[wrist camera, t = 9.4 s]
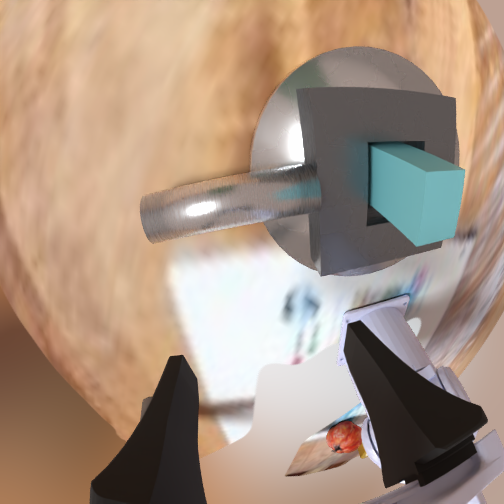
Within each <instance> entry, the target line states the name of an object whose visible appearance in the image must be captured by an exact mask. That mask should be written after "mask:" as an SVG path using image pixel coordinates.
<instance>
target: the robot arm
mask: <svg viewBox="0 0 504 504" xmlns="http://www.w3.org/2000/svg"><path fill="white" fill-rule="evenodd" d="M409 299H410V297H409V296H408V295H404V296H401V297H397V298H394V299H391V300H388V301H384V302H381V303H377V304H374V305H370V306H367V307H363V308H360V309H356V310H352V311H349V312H346V313H345V314H344V315H343V321H342V329H341V337H340V344H339V351H338V358H337V365H338V366H341V365H344V364H345V365H346V367H347V370H348V372H349V375H350V377H351V380H352V382H353V385H354V387H355V390H356V393H357V395H358V398H359V400H360V402H361V403H362V405H363V406H364V407H365V408H366V409H365V410H366V413H367V416H368V417H367V418H366V419H365V420H364V422H363V425H362V430H361V438H362V443H363V446H364V449H365V451H366V453H367V455H368V456H369V458H370V459H371V460H372V461H373V462H374V463H375V464H376V465H378V466H379V467H380V468H381V469H382V475H383V482H384V485H385V488H388V487H390V486H393V485H395V484H397V483H405V484H406V485H405V486H403V487H400V488H398V489H396V490H393V491H391V492H389V493H386V494H384V495H382V496H379V497H377V498H374V499H371V500H369V501H366V502H363V503H360V504H487V503H486V501H485V498H484V496H483V494H482V490H483V489H484V488H485V487H487V486H488V485H489V484H490V483H491V482H492V481H493V480H494V479H495V478H497V477H498V476H499V475H500V474H501V473H502V472H503V471H504V448H503V446H502V443H501V441H500V438H499V436H498V434H497V432H496V430H495V429H494V430H492V431H491V432H490V433H489V434H487V435H486V436H485V437H483V438H482V439H481V440H479V441H478V442H476V443H473V441H474V439H475V437H476V435H477V433H478V430H479V429H480V428H481V427H482V426H484V425H485V424H486V423H487V422H488V419H487V417H486V415H485V413H484V411H483V409H482V408H481V406H479V405H476V404H473V403H471V401H470V399H469V397H468V395H467V393H466V392H465V390H464V388H463V386H462V384H461V383H460V381H459V380H458V378H457V376H456V375H455V373H454V372H453V371H452V369H451V368H450V367H444V366H441V367H440V368H438V369H436V368H435V367H434V365H433V364H432V362H431V360H430V358H429V357H428V355H427V353H426V352H425V350H424V348H423V347H422V345H421V344H420V342H419V340H418V339H417V337H416V336H415V334H414V333H413V331H412V329H411V328H410V326H409V325H408V323H407V322H406V320H405V319H404V316H405V313H406V309H407V306H408V303H409ZM198 411H199V394H198V382H197V378H196V376H195V374H194V373H193V371H192V369H191V368H190V366H189V364H188V362H187V361H186V359H185V357H184V356H183V355H178V356H170V357H169V359H168V361H167V364H166V366H165V369H164V371H163V374H162V376H161V379H160V381H159V383H158V386H157V388H156V390H155V392H154V395H153V397H152V399H151V401H150V403H149V405H148V407H147V409H146V411H145V413H144V415H143V417H142V418H141V420H140V422H139V424H138V425H137V427H136V429H135V430H134V432H133V434H132V435H131V437H130V438H129V439H128V441H127V442H126V444H125V446H124V447H123V448H122V449H121V451H120V452H119V453H118V454H117V455H116V457H115V458H114V459H113V460H112V461H111V462H110V464H109V465H108V466H107V467H106V468H105V469H104V470H103V471H102V472H101V473H100V474H99V475H98V476H97V477H96V478H95V479H94V480H92V482H91V488H90V504H207V502H206V498H205V493H204V488H203V483H202V477H201V470H200V463H199V454H198Z"/></svg>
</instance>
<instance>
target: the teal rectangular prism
mask: <svg viewBox="0 0 504 504" xmlns="http://www.w3.org/2000/svg"><path fill="white" fill-rule="evenodd" d="M464 177H465V170H464V169H462V168H460V167H458V166H456V165H454V164H452V163H450V162H448V161H446V160H443V159H441V158H439V157H437V156H434V155H432V154H430V153H427V152H425V151H423V150H420V149H418V148H415V147H413V146H410V145H407V144H405V143H402V142H399V141H386V142H368V203H369V204H370V205H371V206H372V207H374V208H375V209H376V210H377V211H378V212H379V213H381V214H382V215H383V216H384V217H385V218H386V219H387V220H388V221H390V222H391V223H392V224H393V225H394V226H395V227H396V228H397V229H398V230H400V231H401V232H402V233H403V234H404V235H405V236H406V237H407V238H408V239H409V240H410V241H411V242H412V243H413V244H414V245H415V246H416V247H417V246H422V245H426V244H430V243H434V242H438V241H441V240H445V239H449V238H453V237H454V235H455V230H456V226H457V221H458V216H459V210H460V205H461V199H462V192H463V185H464Z"/></svg>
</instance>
